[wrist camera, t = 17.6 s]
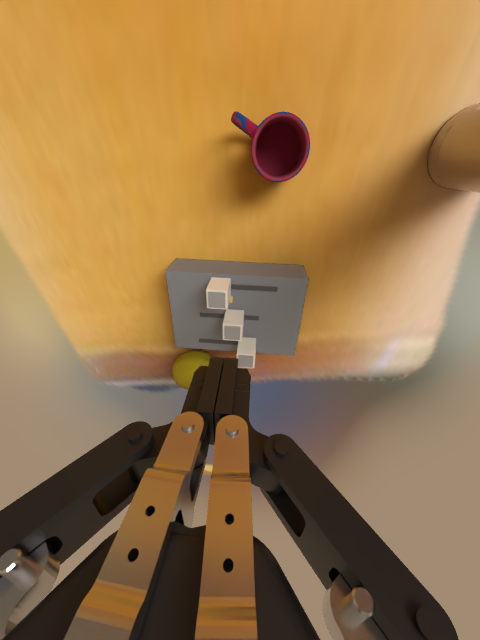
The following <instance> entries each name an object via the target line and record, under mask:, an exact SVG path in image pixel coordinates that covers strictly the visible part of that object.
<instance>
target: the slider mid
mask: <svg viewBox="0 0 480 640" xmlns="http://www.w3.org/2000/svg"><path fill="white" fill-rule="evenodd" d="M243 327H244V310H234V309H228V310H226V312H225V316H224V320H223V340H232V341H242V336H243Z"/></svg>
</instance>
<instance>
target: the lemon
mask: <svg viewBox="0 0 480 640" xmlns="http://www.w3.org/2000/svg"><path fill="white" fill-rule="evenodd" d="M211 357H213V356H212V355H210V354H209V353H207V352H205V351H202V350H192V351H188V352H186V353H184V354H182V355H180V356H179V357H178V358H177V359H176V361H175V363H174V365H173V369H172V373H173V374H172V376H173V378H174V380H175V382H176V383H177V385H179V386H180V387H182V388H185V389H189V388H190V384H191V381H192V378H193V375H194V372H195V371H196V370H197V369H198V368H199V367H200V366H208V365H209V361H210V358H211Z"/></svg>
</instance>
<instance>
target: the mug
mask: <svg viewBox="0 0 480 640" xmlns="http://www.w3.org/2000/svg"><path fill="white" fill-rule="evenodd" d="M231 121H232V123H233V124H235V125H236V126H237V127H238V128H240V129H241V130H242V131H244V132H245V133H246V134H247V135H249V136H250V137H251V138H252V139H253V141H252V147H251V153H252V159H253V163H254V165H255V167H256V169H257V171H258V172H259V173H260V174H261V175H262V176H263V177H264V178H266V179H268V180H270V181H273V182H283V181H286V180H289V179H291V178H293V177H294V176H295V175H297V174H298V173H299V172H300V170H301V169H302V168H303V166H304V165H305V163H306V161H307V158H308V155H309V150H310V139H309V134H308V130H307V128H306V126H305V124H304V123H303V121H302V120H301V119H300V118H299V117H297V116H296V115H294V114H291V113H289V112H278V113H275V114H272V115H270V116H269V117H267V118H266V119H265V120H263V121H262V123H261V124H260V125H259V126H257V125H256V124H254V123H253V122H252V121H250V120H249V119H248V118H246V117H245V116H243V115H242V114H241V113H239V112H234V113H233V115H232V118H231Z"/></svg>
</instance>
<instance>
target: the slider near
mask: <svg viewBox="0 0 480 640" xmlns="http://www.w3.org/2000/svg"><path fill="white" fill-rule="evenodd" d="M230 297H231V278H219V277H211V280H210V282H209V284H208V286H207V289H206V298H207V308H210V309H226V310H228V305H229V301H230Z"/></svg>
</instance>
